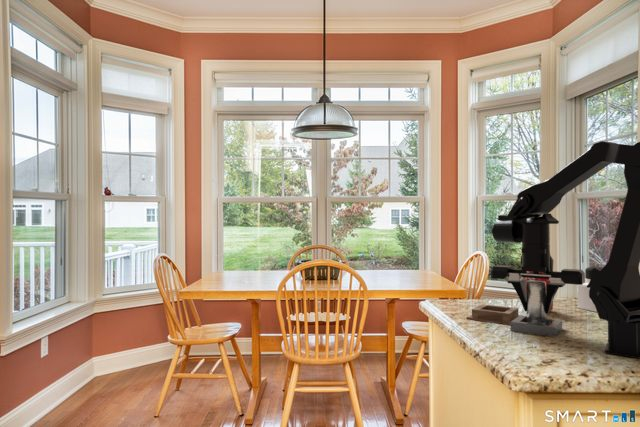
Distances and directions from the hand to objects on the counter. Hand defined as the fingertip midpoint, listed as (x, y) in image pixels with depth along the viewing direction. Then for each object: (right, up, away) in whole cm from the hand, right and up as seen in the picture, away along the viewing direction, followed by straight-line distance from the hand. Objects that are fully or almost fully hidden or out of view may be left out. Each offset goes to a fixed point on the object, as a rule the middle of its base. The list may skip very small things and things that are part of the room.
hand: (536, 312), depth 98 cm
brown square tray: (-4, -4, +12) cm, 14 cm away
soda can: (+12, -5, +21) cm, 25 cm away
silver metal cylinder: (0, -4, 0) cm, 4 cm away
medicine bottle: (+29, -5, +23) cm, 37 cm away
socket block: (0, -4, 0) cm, 4 cm away
